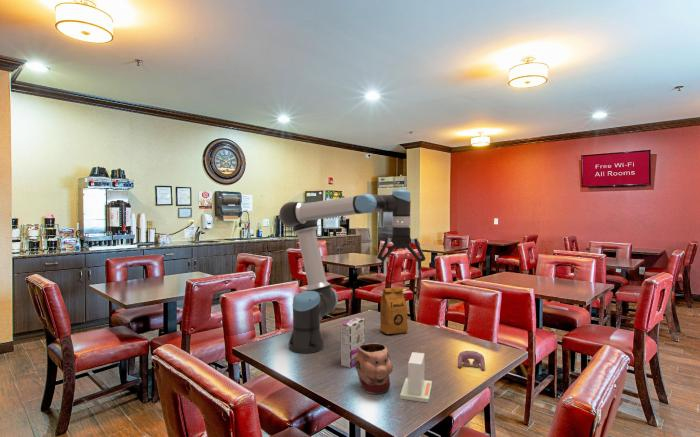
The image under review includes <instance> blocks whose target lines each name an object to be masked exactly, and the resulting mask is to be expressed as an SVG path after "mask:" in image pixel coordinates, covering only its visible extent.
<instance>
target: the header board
mask: <svg viewBox="0 0 700 437" xmlns="http://www.w3.org/2000/svg"><path fill="white" fill-rule="evenodd" d="M432 387H433V380H427V379H426V380H425V379H424V386H423V390H422V394H421V395H416V394H408V377H405V380H404V382H403V385H402V388H401V392H400V394H399V399H400V400H407V401H412V402H421V403H429V402H430V397H431V392H432Z"/></svg>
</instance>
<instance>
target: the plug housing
mask: <svg viewBox="0 0 700 437" xmlns="http://www.w3.org/2000/svg"><path fill="white" fill-rule="evenodd" d="M425 356H426V355H425V353H424V352H415V351H412V352H411V355H410V357H409V360H408V366H407V367H408V368H407V369H408V370H407V372H408V373H407V374H408V375H407V378H408V394H416V395H421V394H422V390H423V386H424V380H425Z"/></svg>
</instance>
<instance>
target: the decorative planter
mask: <svg viewBox="0 0 700 437" xmlns="http://www.w3.org/2000/svg"><path fill="white" fill-rule="evenodd" d="M393 366H394V365H393V363H392V361H391V357H390V354H389V349H388V348H387V346H386V345H384V344H382V343H375V342H372V343H365V344H363V345H361V346H359V349H358V353H357V354H356V356H355V366H354V368H355V370H356V374H357V376H358V379H359V383H360V387H361V389H362V390H363V391H365V393H369V394H373V395H375V394H382V393H386V392H388V390H390V386H391V381H390V380H391V379H390V375H391V374H392V373H393V369H394V367H393Z"/></svg>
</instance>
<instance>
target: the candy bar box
mask: <svg viewBox="0 0 700 437" xmlns="http://www.w3.org/2000/svg"><path fill="white" fill-rule="evenodd" d="M365 320H366V319H365V318H361V317H355V316H354V317H353V318H351V319H349V320H347V321H345V322H343V323H341V324H339V325H340V366H342V367H345V368H349V369H352V368H355V356H356V354H357V353H358V349H359V346H361V345H363V344H366V332H365V331H366V330H365V328H366V327H365V326H366V325H365V324H366V321H365Z"/></svg>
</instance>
